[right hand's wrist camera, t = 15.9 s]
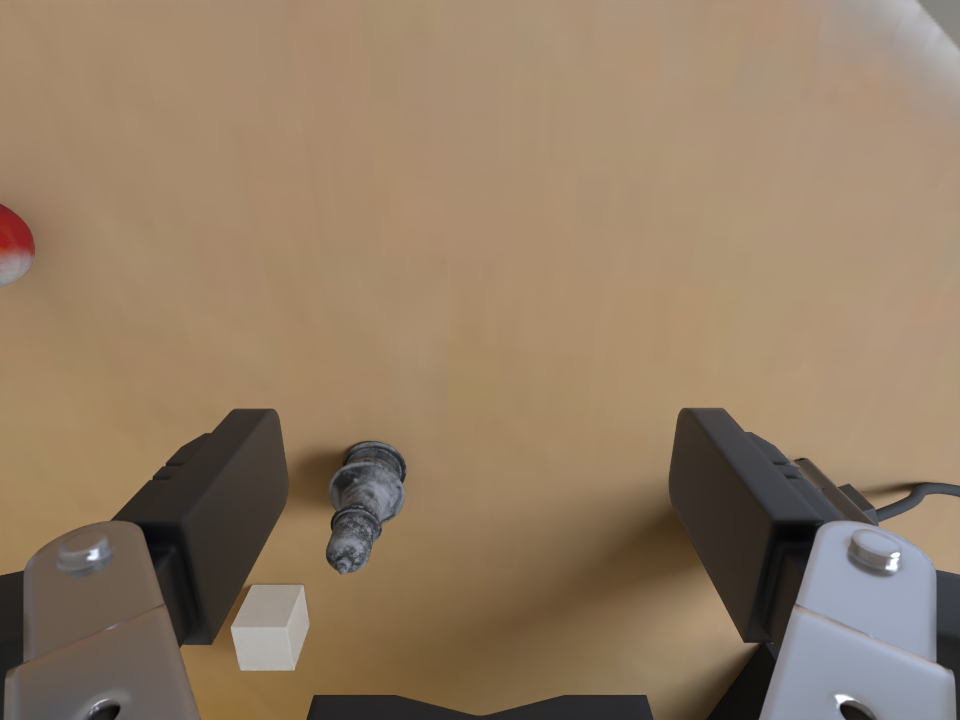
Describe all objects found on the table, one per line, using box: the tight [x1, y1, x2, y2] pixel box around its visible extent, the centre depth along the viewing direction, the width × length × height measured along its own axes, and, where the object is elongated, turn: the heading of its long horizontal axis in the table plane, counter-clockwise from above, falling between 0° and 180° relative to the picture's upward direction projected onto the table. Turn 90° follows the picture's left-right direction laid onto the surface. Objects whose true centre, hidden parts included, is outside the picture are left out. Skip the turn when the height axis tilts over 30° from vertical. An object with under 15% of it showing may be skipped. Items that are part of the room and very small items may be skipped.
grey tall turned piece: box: [326, 442, 406, 574], centre depth 41 cm, size 6×6×12 cm
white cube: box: [231, 584, 310, 671], centre depth 50 cm, size 5×5×5 cm
